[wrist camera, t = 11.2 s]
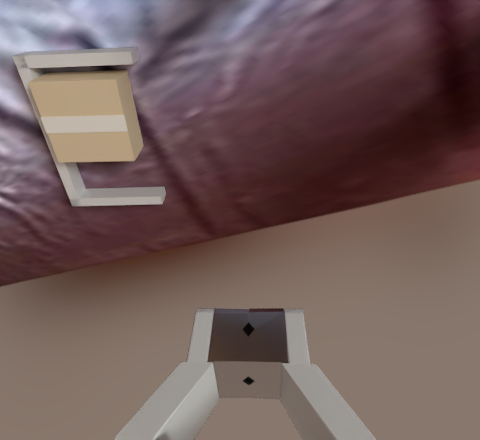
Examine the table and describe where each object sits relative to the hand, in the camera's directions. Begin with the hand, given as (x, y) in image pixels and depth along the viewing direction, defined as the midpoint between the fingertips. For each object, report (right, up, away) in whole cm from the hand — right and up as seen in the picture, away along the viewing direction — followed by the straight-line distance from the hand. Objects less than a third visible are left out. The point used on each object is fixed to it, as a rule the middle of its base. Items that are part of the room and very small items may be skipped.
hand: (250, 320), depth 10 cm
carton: (-17, +16, +30) cm, 38 cm away
